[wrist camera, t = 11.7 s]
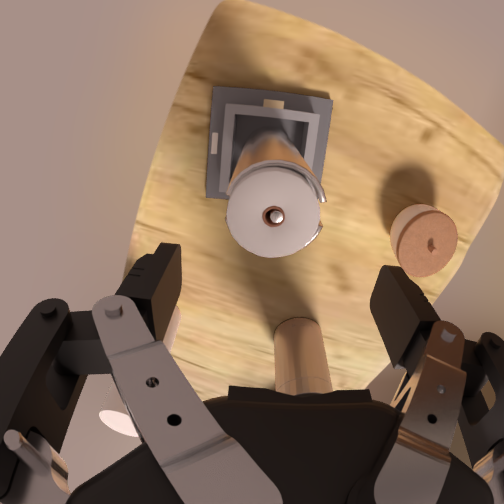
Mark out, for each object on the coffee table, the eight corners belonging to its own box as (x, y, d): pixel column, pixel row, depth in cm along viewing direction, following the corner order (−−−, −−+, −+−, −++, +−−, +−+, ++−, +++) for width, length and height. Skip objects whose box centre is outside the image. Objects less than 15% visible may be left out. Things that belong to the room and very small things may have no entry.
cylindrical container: (138, 308, 56) (90, 414, 34) (162, 292, 54) (116, 406, 32) (164, 332, 58) (128, 439, 36) (188, 317, 56) (157, 433, 34)
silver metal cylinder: (274, 180, 42) (288, 281, 20) (234, 155, 41) (201, 231, 18) (301, 143, 39) (352, 204, 17) (261, 117, 38) (261, 140, 16)
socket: (314, 205, 45) (320, 219, 40) (207, 194, 45) (200, 206, 40) (330, 100, 38) (340, 100, 33) (215, 86, 37) (208, 84, 32)
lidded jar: (379, 199, 44) (403, 222, 36) (436, 191, 43) (466, 212, 35) (381, 258, 49) (400, 289, 41) (433, 248, 48) (458, 276, 40)
